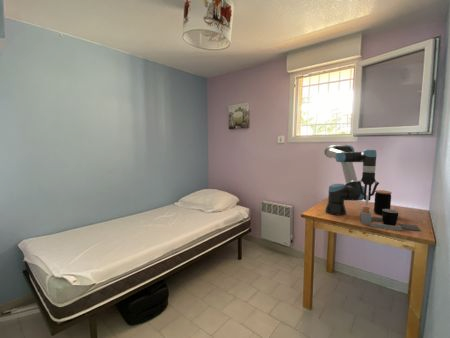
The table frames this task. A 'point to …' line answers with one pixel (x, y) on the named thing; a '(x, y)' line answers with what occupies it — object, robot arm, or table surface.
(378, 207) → the coffee jar
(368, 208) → the plunger
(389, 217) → the mug
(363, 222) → the housing
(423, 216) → the table surface
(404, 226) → the pad
